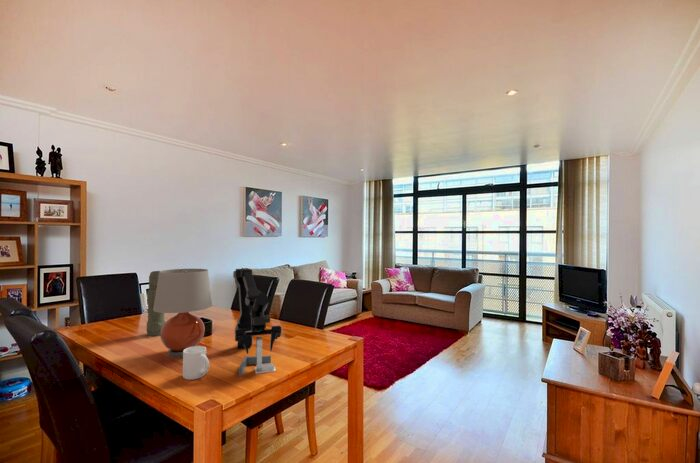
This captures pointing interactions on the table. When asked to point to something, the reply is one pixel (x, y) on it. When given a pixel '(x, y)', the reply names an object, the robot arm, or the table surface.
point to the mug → (195, 362)
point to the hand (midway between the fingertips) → (259, 352)
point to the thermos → (154, 318)
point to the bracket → (259, 365)
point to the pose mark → (265, 371)
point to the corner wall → (252, 362)
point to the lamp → (182, 307)
